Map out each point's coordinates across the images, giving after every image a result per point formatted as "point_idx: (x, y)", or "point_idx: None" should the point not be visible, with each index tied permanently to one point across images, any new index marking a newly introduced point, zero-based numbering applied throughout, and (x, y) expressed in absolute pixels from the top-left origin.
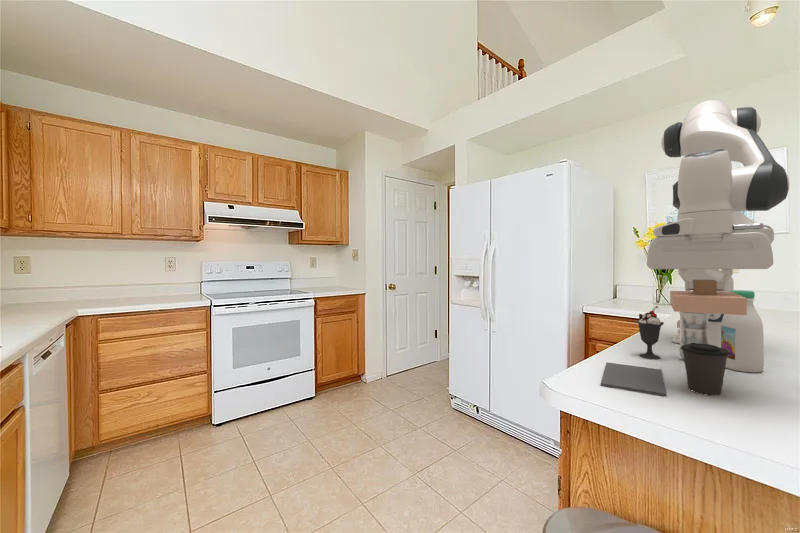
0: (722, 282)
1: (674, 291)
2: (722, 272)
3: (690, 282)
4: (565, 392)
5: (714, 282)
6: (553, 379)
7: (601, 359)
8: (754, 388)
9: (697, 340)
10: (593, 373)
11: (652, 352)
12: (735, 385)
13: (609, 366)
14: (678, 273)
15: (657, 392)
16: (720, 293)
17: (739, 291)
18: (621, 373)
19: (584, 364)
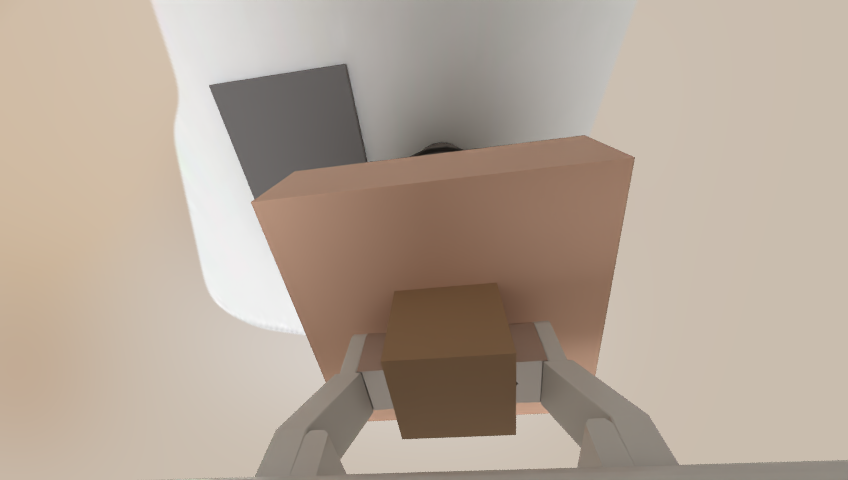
0: (547, 403)
1: (291, 248)
2: (584, 461)
3: (378, 406)
4: (258, 318)
5: (501, 426)
6: (206, 275)
7: (172, 25)
8: (541, 76)
9: None
10: (234, 191)
11: None
12: (505, 77)
13: (236, 127)
14: (274, 434)
15: None
16: (531, 272)
17: None
18: (282, 174)
19: (176, 125)
